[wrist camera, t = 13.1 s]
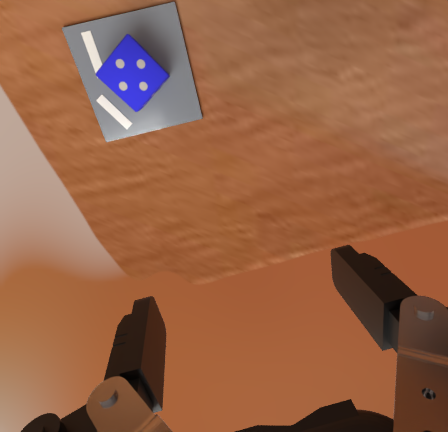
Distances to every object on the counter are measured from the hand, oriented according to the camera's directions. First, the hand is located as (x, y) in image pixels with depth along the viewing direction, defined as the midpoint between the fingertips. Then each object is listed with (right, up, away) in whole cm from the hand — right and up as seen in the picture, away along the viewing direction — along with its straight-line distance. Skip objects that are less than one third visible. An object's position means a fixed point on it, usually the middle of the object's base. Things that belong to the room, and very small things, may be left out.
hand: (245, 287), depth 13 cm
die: (-11, +19, +20) cm, 30 cm away
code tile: (-11, +19, +21) cm, 30 cm away
